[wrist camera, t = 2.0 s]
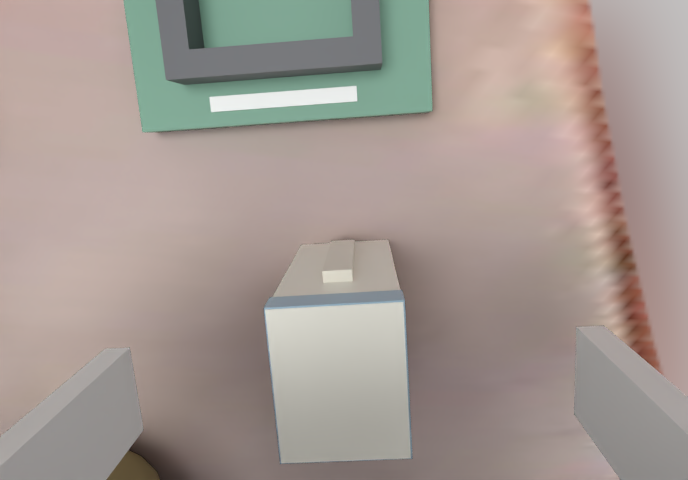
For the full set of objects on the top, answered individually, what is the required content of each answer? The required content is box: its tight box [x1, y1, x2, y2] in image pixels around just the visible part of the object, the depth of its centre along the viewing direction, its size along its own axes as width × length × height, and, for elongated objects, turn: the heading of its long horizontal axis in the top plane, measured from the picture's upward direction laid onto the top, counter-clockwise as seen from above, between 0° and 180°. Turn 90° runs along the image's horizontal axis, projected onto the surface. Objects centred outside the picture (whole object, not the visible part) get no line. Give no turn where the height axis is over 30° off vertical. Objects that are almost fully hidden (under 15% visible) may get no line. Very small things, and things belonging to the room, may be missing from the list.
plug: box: [264, 239, 412, 464], centre depth 20 cm, size 6×4×9 cm
